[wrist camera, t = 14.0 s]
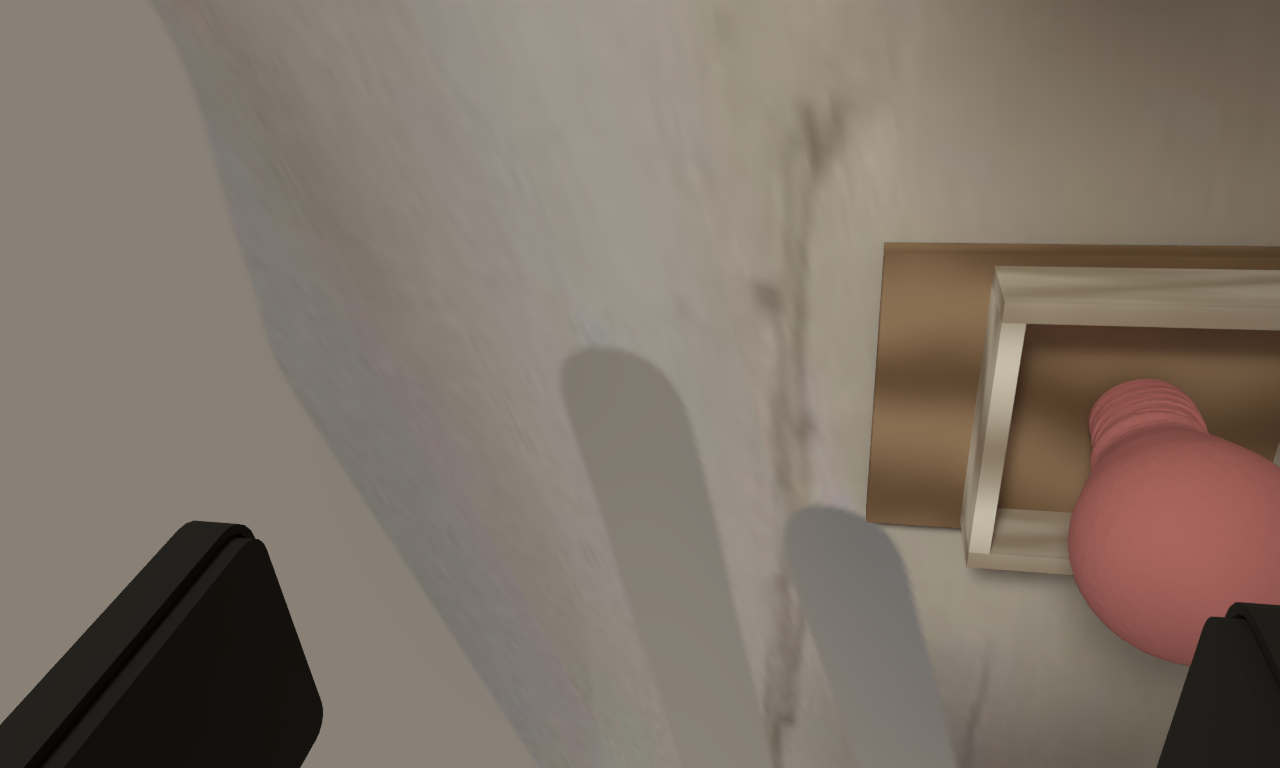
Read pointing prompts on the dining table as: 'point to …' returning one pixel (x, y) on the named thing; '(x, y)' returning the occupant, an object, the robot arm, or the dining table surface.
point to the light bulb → (1171, 521)
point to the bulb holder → (1052, 375)
